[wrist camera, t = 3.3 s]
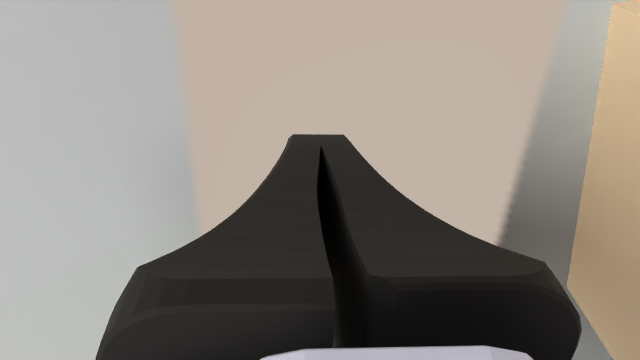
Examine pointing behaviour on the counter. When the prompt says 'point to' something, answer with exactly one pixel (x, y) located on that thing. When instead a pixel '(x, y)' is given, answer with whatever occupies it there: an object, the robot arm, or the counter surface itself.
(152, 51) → the counter surface
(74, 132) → the counter surface
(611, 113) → the carton
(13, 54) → the counter surface
